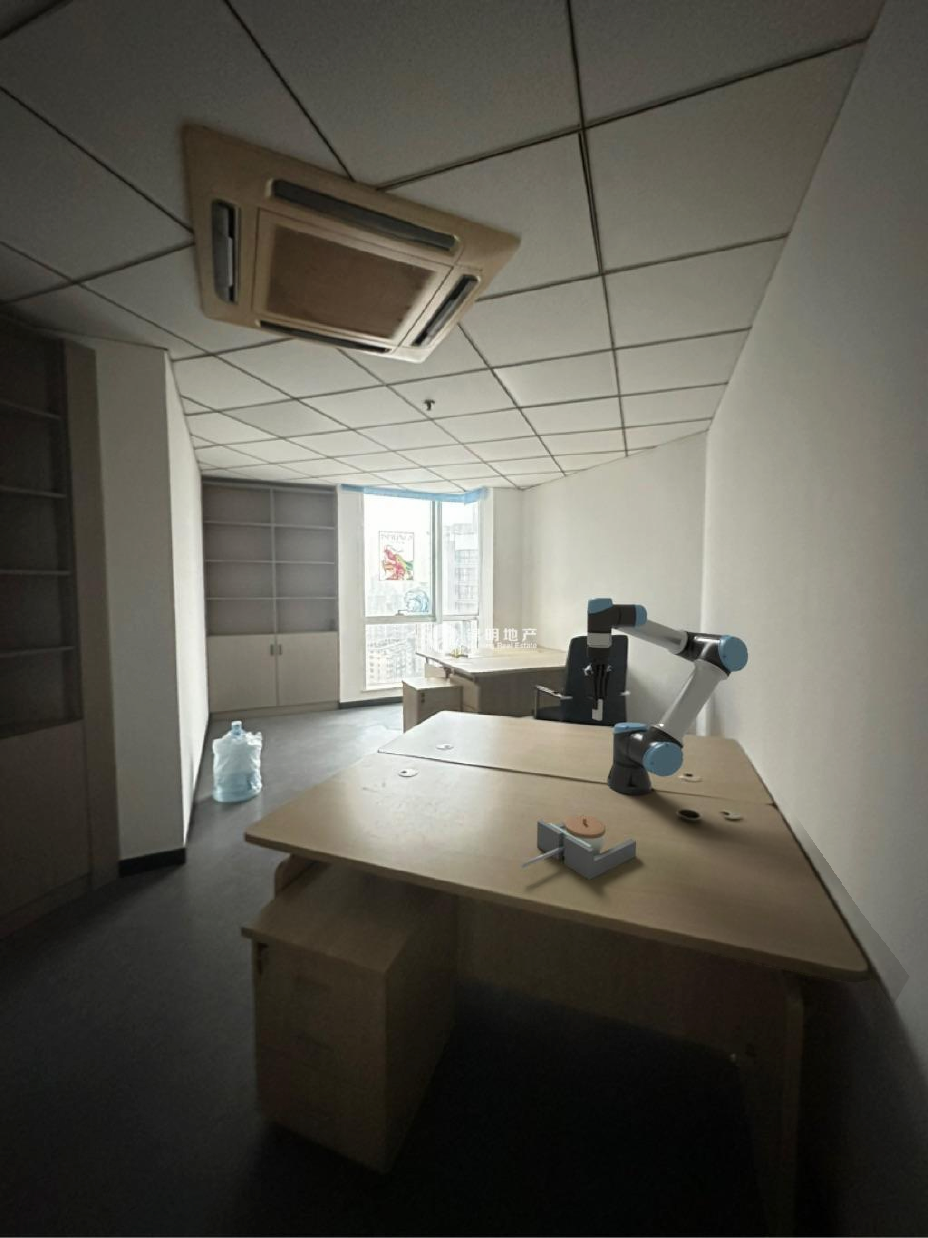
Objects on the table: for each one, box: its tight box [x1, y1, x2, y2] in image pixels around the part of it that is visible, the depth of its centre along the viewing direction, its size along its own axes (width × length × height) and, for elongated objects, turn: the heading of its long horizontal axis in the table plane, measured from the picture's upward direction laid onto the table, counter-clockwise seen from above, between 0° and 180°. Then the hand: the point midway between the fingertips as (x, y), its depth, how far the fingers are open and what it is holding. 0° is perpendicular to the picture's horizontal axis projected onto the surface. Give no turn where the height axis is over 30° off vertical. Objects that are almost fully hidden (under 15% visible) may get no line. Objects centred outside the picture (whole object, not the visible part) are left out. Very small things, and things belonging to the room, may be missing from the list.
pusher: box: [520, 822, 592, 869], centre depth 114 cm, size 17×14×6 cm
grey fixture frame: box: [536, 814, 637, 881], centre depth 122 cm, size 18×18×7 cm
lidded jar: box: [563, 814, 606, 856], centre depth 122 cm, size 11×11×9 cm
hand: (597, 719), depth 146 cm, fingers closed
